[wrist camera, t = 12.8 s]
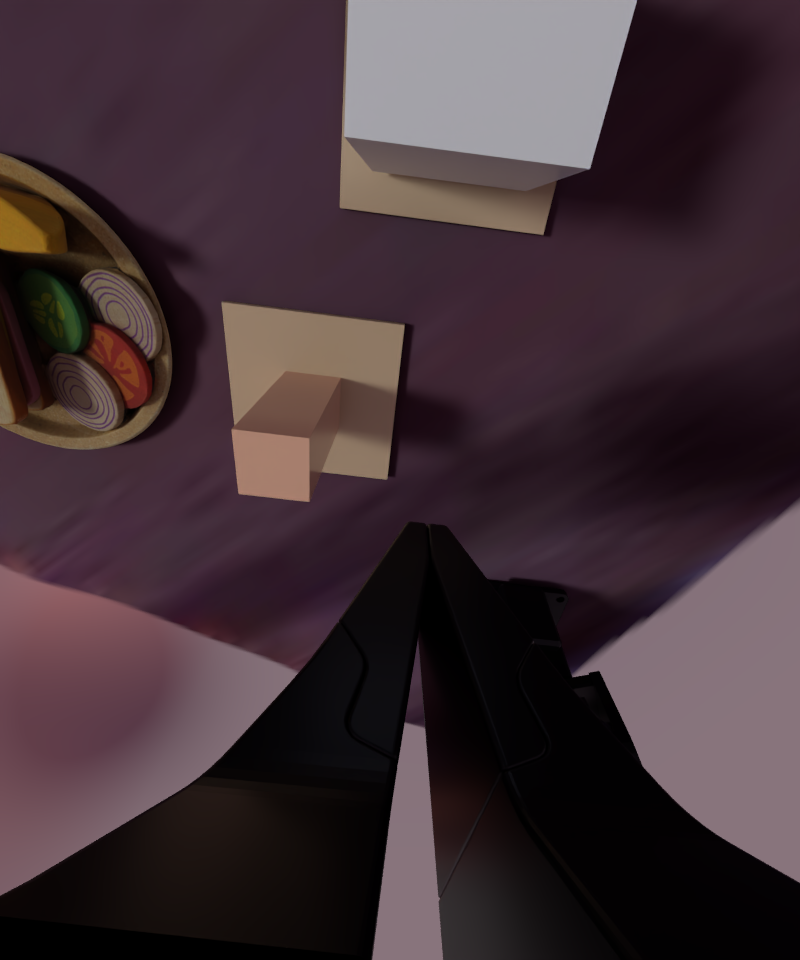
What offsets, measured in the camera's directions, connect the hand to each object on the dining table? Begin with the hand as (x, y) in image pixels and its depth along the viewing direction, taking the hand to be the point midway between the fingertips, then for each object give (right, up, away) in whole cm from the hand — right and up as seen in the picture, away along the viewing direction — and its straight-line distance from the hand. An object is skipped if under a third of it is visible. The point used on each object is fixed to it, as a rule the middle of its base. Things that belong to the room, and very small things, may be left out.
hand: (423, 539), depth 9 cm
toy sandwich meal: (-18, +9, +11) cm, 22 cm away
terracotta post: (-5, +5, +12) cm, 14 cm away
